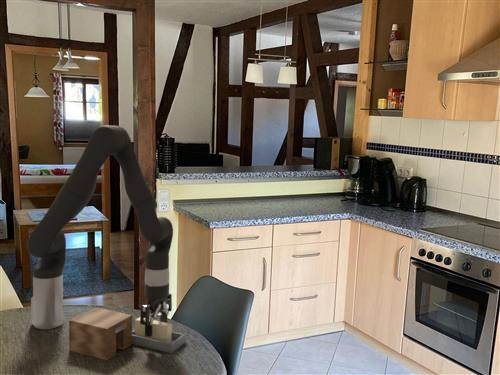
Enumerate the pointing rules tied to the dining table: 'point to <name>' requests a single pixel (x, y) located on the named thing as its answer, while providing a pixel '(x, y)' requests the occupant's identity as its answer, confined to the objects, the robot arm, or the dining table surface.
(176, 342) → the tray
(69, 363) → the dining table surface
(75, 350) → the wooden block
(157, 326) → the cream rectangular block
